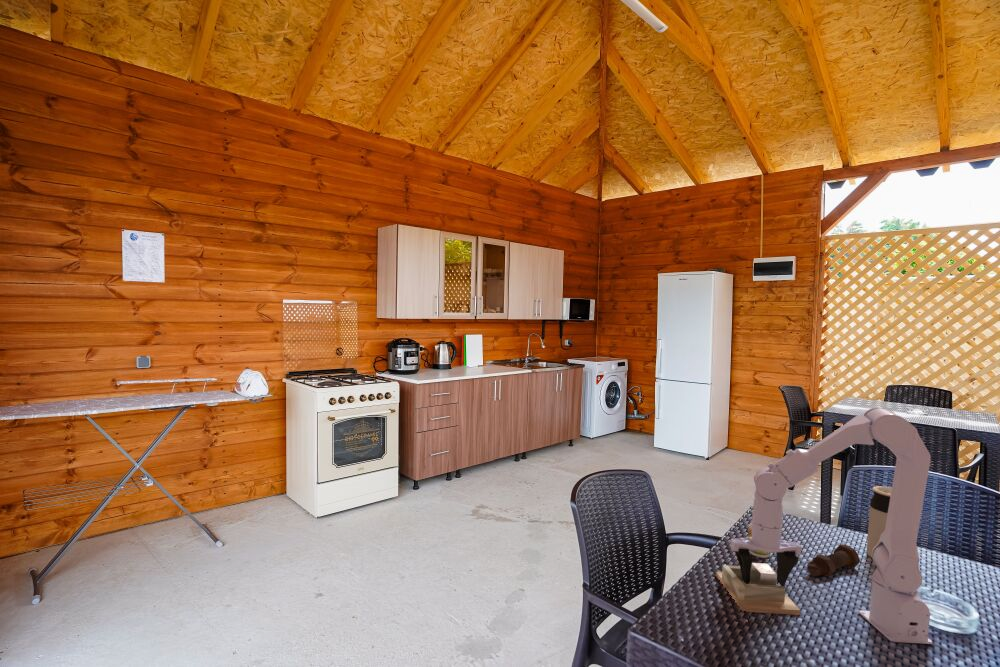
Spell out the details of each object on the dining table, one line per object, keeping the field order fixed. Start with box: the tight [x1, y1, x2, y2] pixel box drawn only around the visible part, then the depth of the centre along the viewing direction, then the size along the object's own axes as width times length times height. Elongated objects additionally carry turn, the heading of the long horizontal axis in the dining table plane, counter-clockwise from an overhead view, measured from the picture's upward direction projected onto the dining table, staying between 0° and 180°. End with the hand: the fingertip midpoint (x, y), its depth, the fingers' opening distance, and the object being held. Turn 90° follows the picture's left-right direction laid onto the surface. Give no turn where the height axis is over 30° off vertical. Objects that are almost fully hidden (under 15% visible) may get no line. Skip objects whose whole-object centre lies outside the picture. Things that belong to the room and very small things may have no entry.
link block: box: [750, 562, 778, 585], centre depth 112 cm, size 4×4×5 cm
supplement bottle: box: [747, 515, 772, 559], centre depth 131 cm, size 5×5×10 cm
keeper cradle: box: [715, 564, 802, 616], centre depth 112 cm, size 14×12×4 cm
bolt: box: [806, 543, 861, 577], centre depth 123 cm, size 6×5×15 cm
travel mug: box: [866, 485, 892, 558], centre depth 131 cm, size 8×8×18 cm
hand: (763, 582), depth 112 cm, fingers open, 7 cm apart
